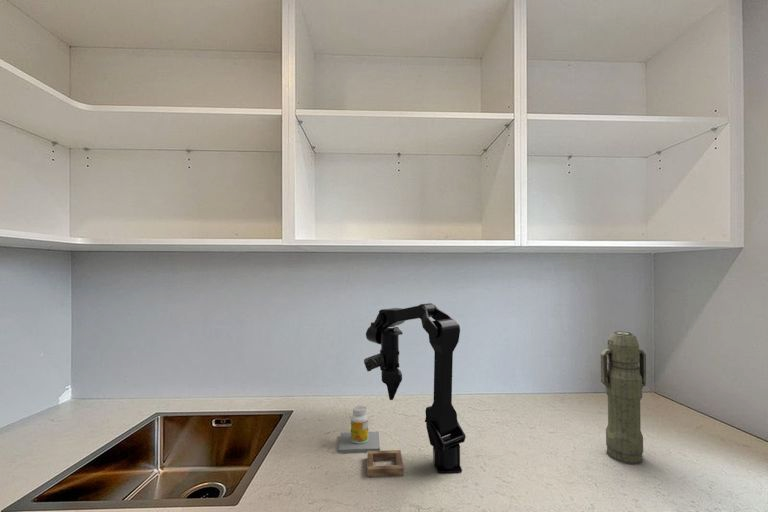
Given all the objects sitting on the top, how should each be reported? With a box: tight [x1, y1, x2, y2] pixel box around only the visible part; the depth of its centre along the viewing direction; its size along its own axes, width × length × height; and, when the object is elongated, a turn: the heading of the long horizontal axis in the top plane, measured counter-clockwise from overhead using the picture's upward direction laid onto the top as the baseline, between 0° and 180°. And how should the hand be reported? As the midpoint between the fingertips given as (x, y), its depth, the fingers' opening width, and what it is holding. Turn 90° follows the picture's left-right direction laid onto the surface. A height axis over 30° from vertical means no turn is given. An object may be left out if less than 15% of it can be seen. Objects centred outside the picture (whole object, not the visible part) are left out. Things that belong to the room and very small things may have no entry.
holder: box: [366, 449, 405, 478], centre depth 104 cm, size 9×9×2 cm
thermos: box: [600, 330, 647, 466], centre depth 108 cm, size 9×12×35 cm
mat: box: [338, 431, 381, 454], centre depth 117 cm, size 12×11×1 cm
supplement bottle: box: [350, 405, 370, 444], centre depth 117 cm, size 5×5×10 cm
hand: (390, 394), depth 125 cm, fingers open, 9 cm apart
